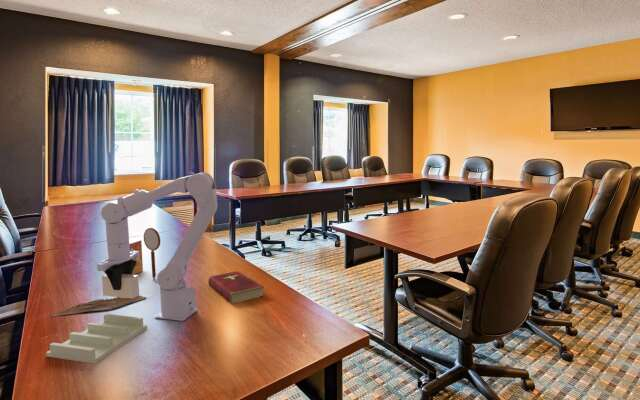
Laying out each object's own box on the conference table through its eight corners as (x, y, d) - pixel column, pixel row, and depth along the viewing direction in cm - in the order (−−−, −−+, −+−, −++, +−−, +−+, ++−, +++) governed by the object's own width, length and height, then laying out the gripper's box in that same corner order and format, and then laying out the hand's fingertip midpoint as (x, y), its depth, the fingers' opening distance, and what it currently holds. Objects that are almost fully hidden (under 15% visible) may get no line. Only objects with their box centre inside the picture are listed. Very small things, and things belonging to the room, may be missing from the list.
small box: (129, 277, 150) (127, 244, 148) (115, 275, 151) (113, 243, 149) (143, 270, 157) (141, 239, 156) (130, 269, 159) (128, 238, 157)
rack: (147, 328, 107) (146, 317, 107) (95, 363, 90) (94, 351, 89) (104, 322, 110) (104, 312, 110) (46, 356, 93) (45, 344, 92)
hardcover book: (231, 305, 124) (230, 293, 123) (208, 286, 141) (208, 275, 140) (264, 297, 131) (264, 285, 130) (239, 280, 147) (238, 269, 147)
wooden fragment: (144, 293, 133) (144, 290, 133) (147, 305, 124) (147, 301, 124) (54, 309, 121) (54, 305, 121) (51, 323, 111) (50, 319, 111)
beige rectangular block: (139, 294, 114) (138, 275, 113) (132, 298, 111) (130, 278, 110) (110, 291, 116) (109, 272, 116) (103, 295, 114) (101, 275, 113)
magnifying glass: (163, 280, 146) (160, 228, 143) (159, 281, 144) (157, 229, 142) (148, 276, 150) (145, 226, 147) (144, 278, 149) (141, 227, 146)
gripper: (124, 236, 120) (127, 278, 121) (86, 247, 106) (90, 295, 107) (144, 237, 118) (146, 280, 120) (108, 249, 104) (111, 297, 106)
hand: (121, 287), depth 114 cm, fingers closed on beige rectangular block, 3 cm apart
